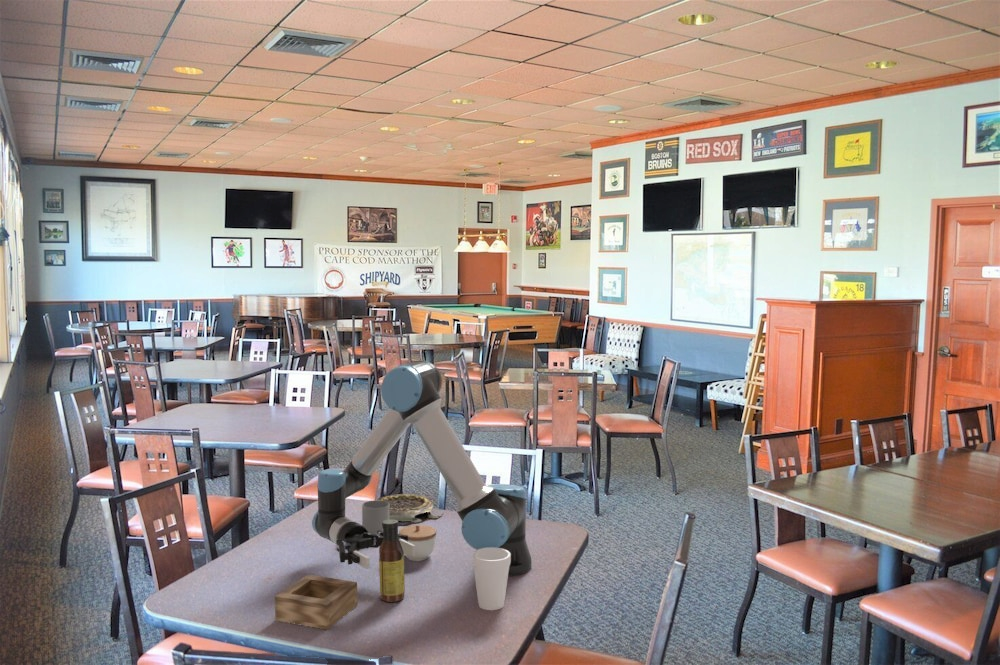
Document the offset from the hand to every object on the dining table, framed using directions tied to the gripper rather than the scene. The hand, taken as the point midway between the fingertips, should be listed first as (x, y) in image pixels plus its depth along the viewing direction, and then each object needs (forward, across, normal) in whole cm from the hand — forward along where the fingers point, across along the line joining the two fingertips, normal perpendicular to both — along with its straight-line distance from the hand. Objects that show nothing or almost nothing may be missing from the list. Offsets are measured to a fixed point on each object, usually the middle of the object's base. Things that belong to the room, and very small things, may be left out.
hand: (391, 557), depth 196 cm
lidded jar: (-20, -22, -11) cm, 31 cm away
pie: (-57, -41, -12) cm, 71 cm away
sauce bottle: (0, 0, -11) cm, 11 cm away
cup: (-43, -22, -11) cm, 50 cm away
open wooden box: (-5, +18, -11) cm, 22 cm away
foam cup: (+19, -17, -11) cm, 28 cm away
